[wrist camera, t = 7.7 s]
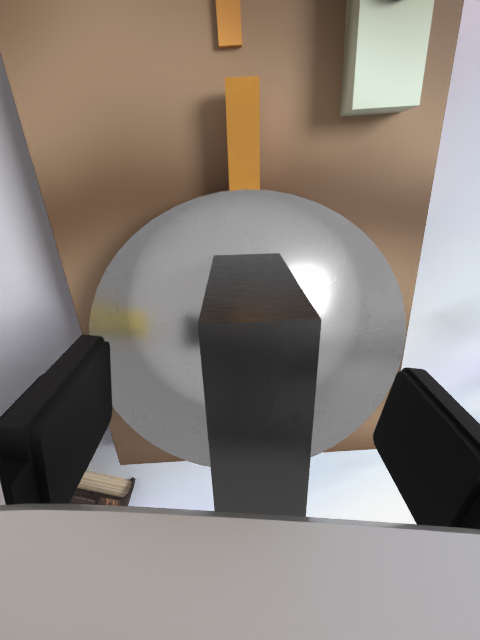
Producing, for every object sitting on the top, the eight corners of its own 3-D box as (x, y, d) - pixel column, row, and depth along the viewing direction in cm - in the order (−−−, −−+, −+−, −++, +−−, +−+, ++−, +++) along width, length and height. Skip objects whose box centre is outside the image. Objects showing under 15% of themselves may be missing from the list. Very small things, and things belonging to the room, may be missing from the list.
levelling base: (371, 421, 19) (405, 479, 15) (131, 436, 19) (107, 498, 15) (466, -263, 9) (628, -566, 5) (-41, -228, 9) (-226, -504, 5)
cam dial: (367, 440, 16) (456, 612, 10) (130, 450, 16) (63, 629, 10) (431, 79, 10) (777, -93, 4) (49, 90, 10) (-278, -67, 4)
